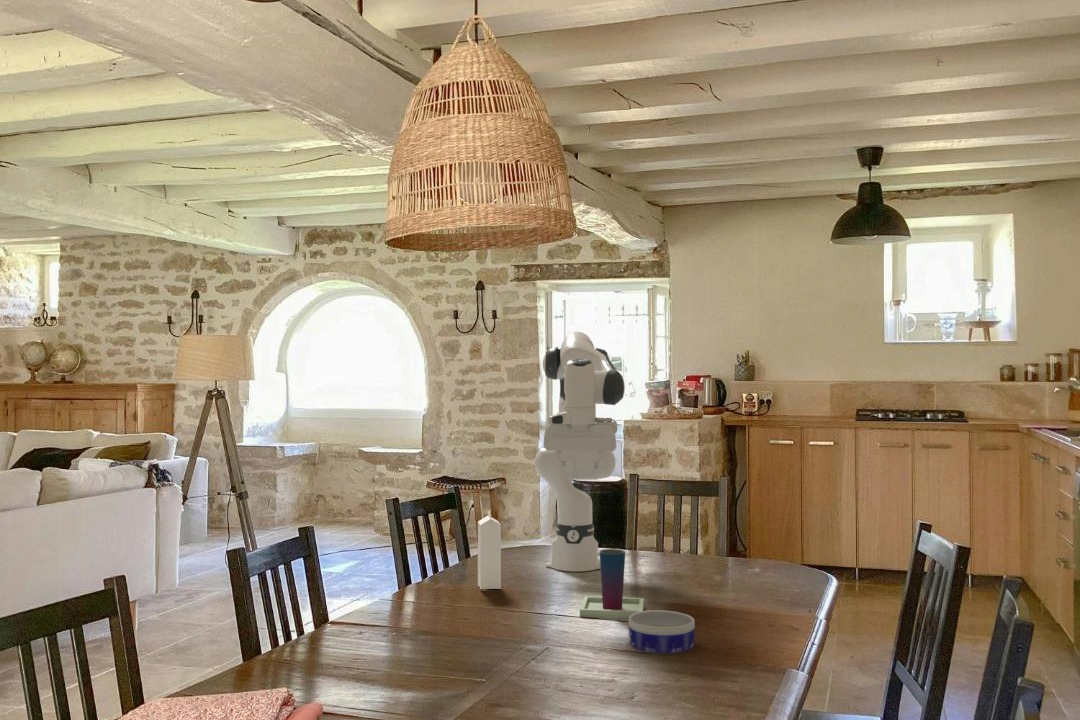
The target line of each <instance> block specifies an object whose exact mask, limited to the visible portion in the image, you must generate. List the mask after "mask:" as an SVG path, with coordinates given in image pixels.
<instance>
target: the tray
mask: <svg viewBox="0 0 1080 720" xmlns="http://www.w3.org/2000/svg"><path fill="white" fill-rule="evenodd" d="M644 599H645V598H643V597H623V600H622V609H621V610H604V609H603V601H602V596H594V595H593V596H592V595H591V596H590V595H589V596H587V595H586V596H585V595H584V597H583V599H582V603H581V605H580V607H579V617H580V618H581V617H583V618H584V617H585V618H603V619H605V618H607V619H608V618H609V619H610V618H611V619H629V616H630V615H632V614H634V613H637V612H642V611H644V607H645V606H644V605H645V604H644V601H645V600H644Z"/></svg>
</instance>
